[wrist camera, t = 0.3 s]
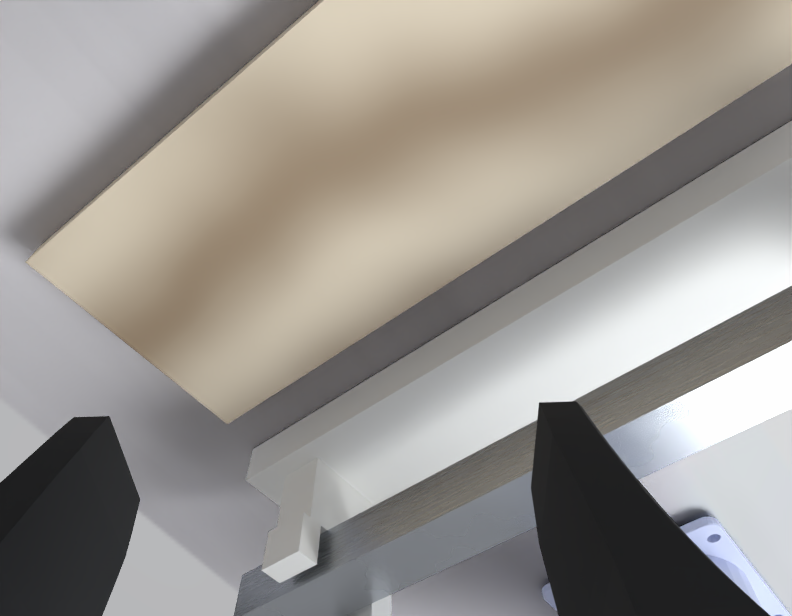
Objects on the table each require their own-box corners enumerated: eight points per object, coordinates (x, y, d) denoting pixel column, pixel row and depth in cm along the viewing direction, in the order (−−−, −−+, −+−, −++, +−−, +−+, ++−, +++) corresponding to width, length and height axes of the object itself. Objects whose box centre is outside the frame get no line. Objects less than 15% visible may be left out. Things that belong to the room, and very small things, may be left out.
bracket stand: (916, 214, 20) (1135, 364, 14) (340, 519, 27) (326, 700, 21) (864, 76, 18) (1100, 185, 12) (252, 449, 25) (210, 630, 19)
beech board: (799, 36, 17) (820, 46, 16) (233, 404, 24) (227, 424, 23) (660, -300, 13) (677, -310, 13) (40, 245, 20) (25, 262, 19)
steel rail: (1058, 220, 15) (1121, 254, 14) (283, 602, 23) (276, 647, 22) (1041, 153, 15) (1107, 183, 13) (242, 575, 23) (233, 620, 21)
